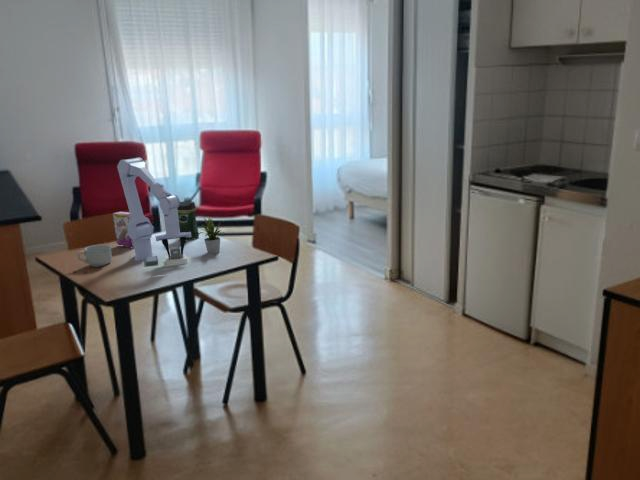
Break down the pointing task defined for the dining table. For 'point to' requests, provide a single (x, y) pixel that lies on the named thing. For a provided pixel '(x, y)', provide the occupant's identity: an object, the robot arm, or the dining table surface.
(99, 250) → the teacup
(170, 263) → the outlet plate
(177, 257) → the plug
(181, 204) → the coffee jar
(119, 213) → the candy bar box
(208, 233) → the house plant
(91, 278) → the dining table surface
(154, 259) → the phone slab
